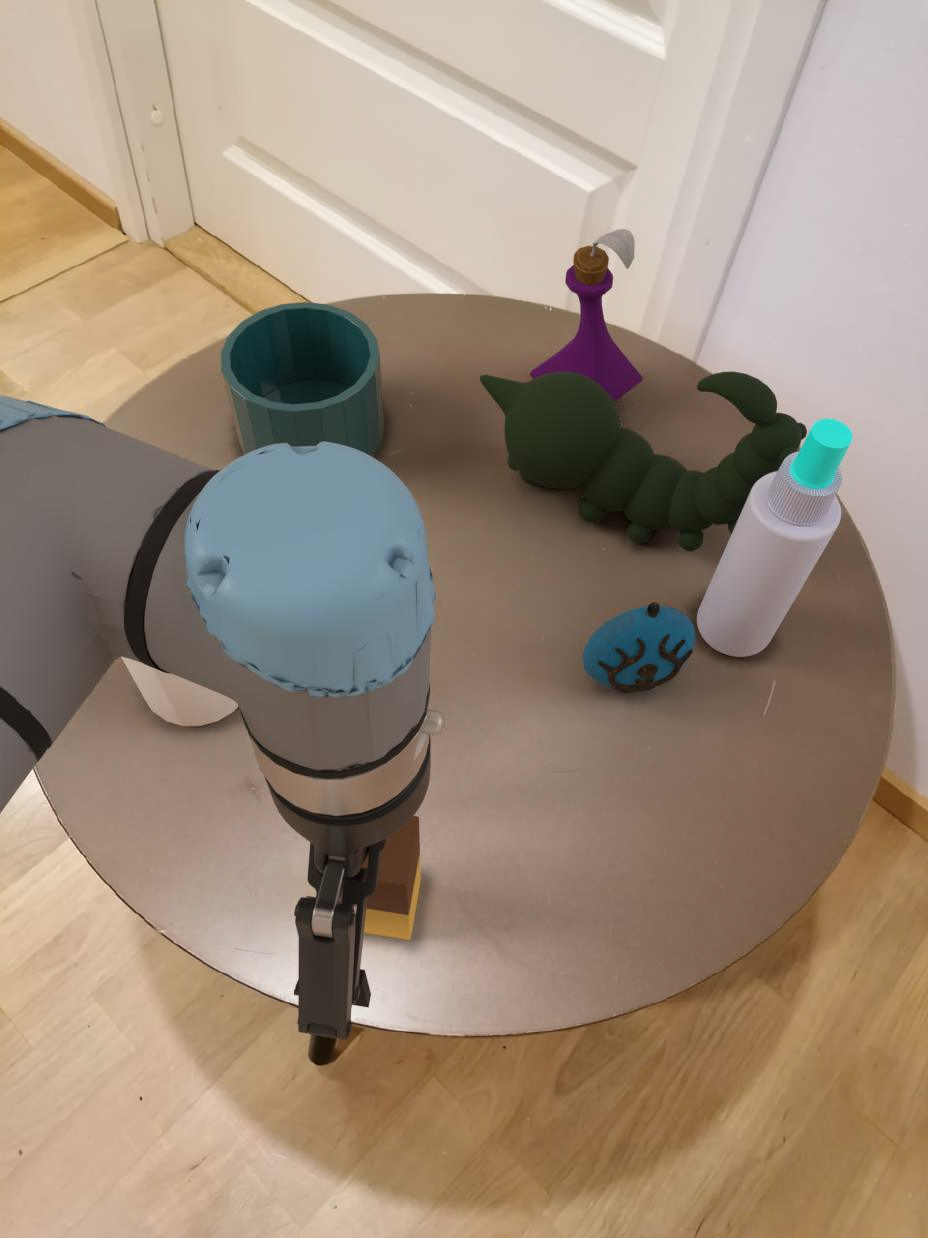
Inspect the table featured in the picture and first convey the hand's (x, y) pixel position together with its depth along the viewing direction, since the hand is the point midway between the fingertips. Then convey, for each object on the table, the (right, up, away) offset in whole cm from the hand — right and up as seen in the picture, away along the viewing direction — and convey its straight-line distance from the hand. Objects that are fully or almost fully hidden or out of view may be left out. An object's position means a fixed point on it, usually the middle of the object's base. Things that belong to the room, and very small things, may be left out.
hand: (370, 884), depth 59 cm
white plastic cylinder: (-14, +12, +12) cm, 22 cm away
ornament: (+19, +12, +14) cm, 26 cm away
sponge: (0, -2, +3) cm, 4 cm away
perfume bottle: (+17, +37, +29) cm, 50 cm away
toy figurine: (+18, +27, +23) cm, 40 cm away
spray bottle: (+27, +16, +16) cm, 36 cm away
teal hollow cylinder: (-8, +34, +26) cm, 44 cm away
